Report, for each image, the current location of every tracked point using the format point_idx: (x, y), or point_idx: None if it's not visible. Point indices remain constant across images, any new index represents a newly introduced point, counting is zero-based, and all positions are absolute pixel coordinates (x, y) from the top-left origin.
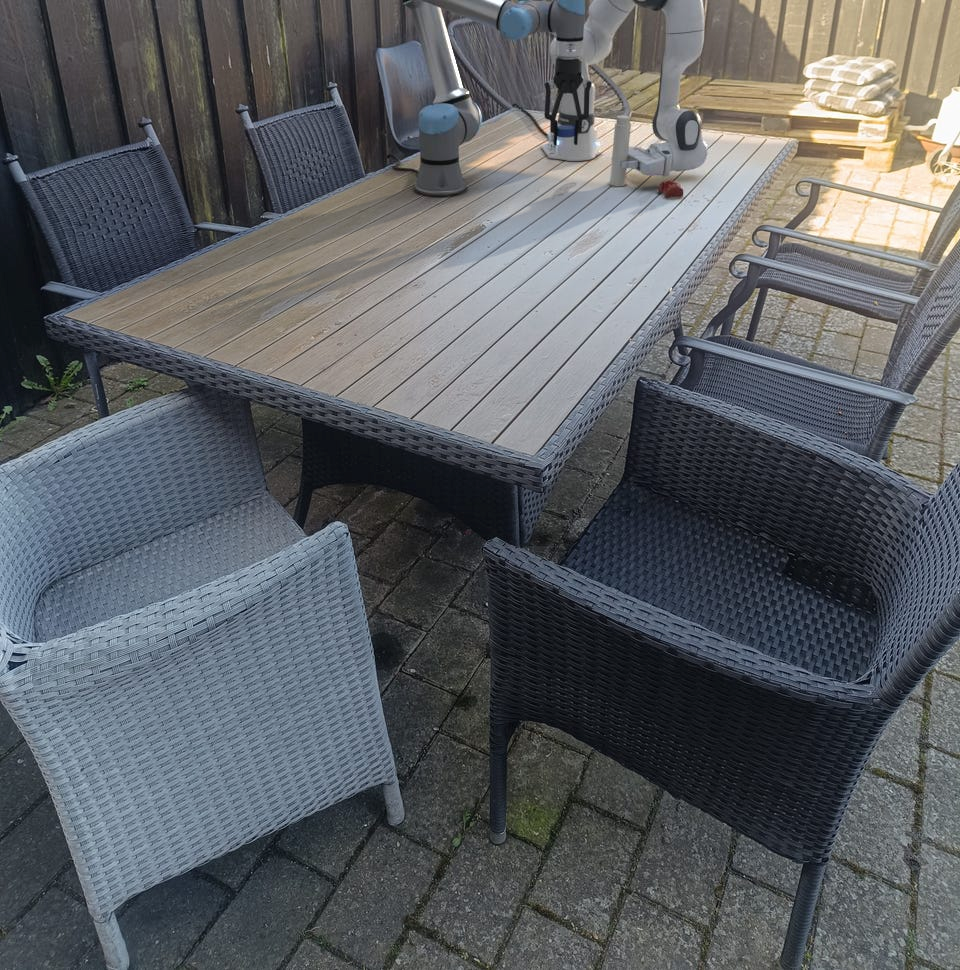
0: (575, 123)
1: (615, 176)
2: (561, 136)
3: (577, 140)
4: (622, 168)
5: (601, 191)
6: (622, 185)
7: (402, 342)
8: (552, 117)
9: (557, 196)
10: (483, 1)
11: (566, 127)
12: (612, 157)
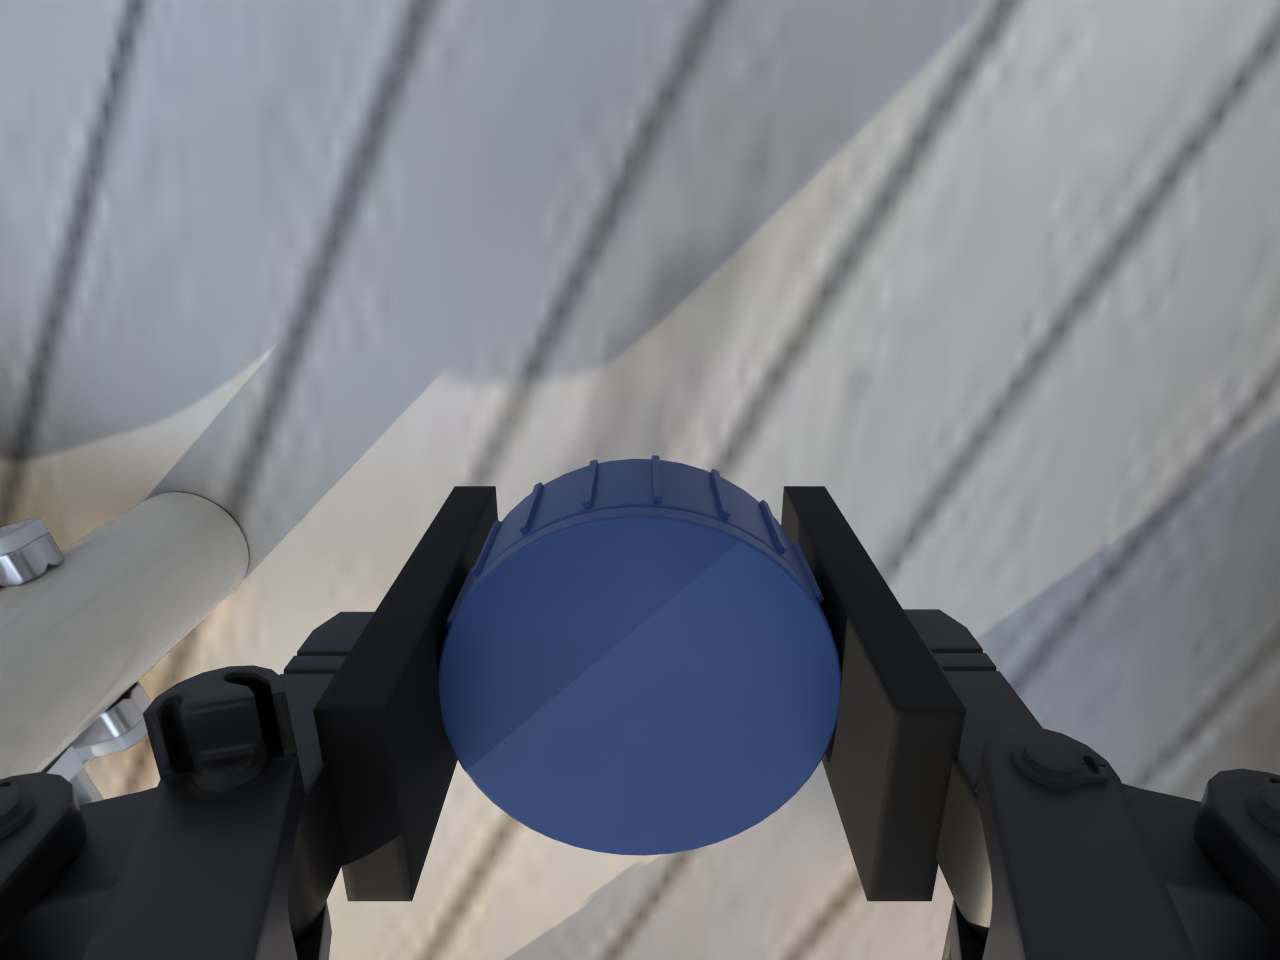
0: (412, 726)
1: (163, 530)
2: (741, 490)
3: (440, 512)
4: None
5: (316, 367)
6: (143, 501)
7: None
8: (1107, 803)
9: (708, 235)
10: None
11: (630, 693)
12: (106, 657)
